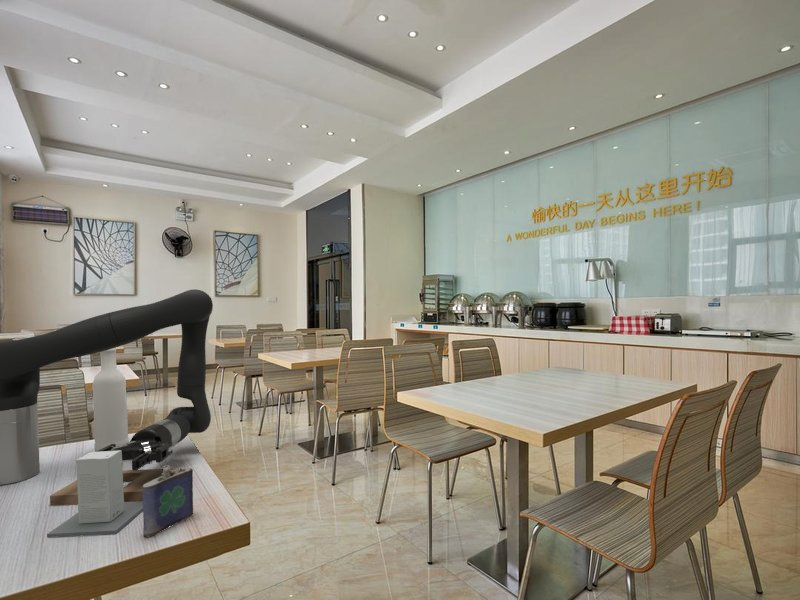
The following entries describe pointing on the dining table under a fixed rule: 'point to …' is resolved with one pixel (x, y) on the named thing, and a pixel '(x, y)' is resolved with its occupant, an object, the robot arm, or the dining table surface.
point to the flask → (167, 500)
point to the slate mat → (113, 527)
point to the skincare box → (100, 486)
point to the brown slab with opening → (130, 491)
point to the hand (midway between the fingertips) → (111, 466)
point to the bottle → (109, 403)
